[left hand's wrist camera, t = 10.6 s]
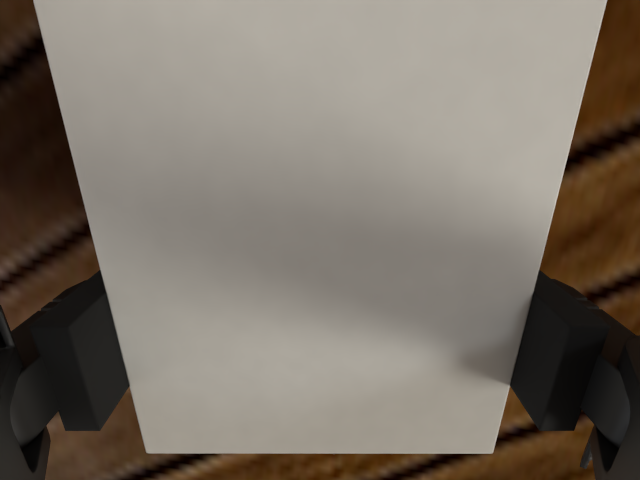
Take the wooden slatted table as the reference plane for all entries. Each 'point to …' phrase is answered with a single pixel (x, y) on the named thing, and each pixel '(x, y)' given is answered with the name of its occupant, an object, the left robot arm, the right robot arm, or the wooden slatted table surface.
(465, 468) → the wooden slatted table surface
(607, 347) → the left robot arm
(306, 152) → the cabinet
